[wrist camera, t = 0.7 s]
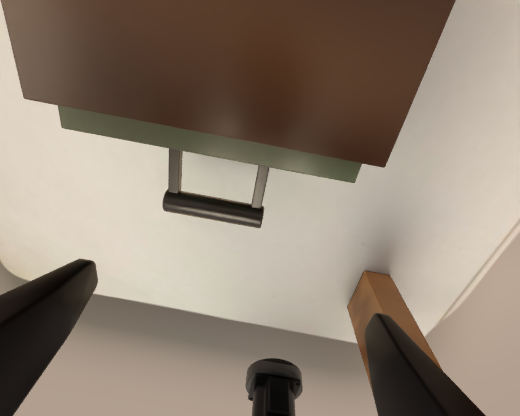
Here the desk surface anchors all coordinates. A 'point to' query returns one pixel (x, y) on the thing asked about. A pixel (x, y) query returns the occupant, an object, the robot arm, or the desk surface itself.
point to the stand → (382, 311)
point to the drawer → (213, 147)
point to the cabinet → (236, 66)
